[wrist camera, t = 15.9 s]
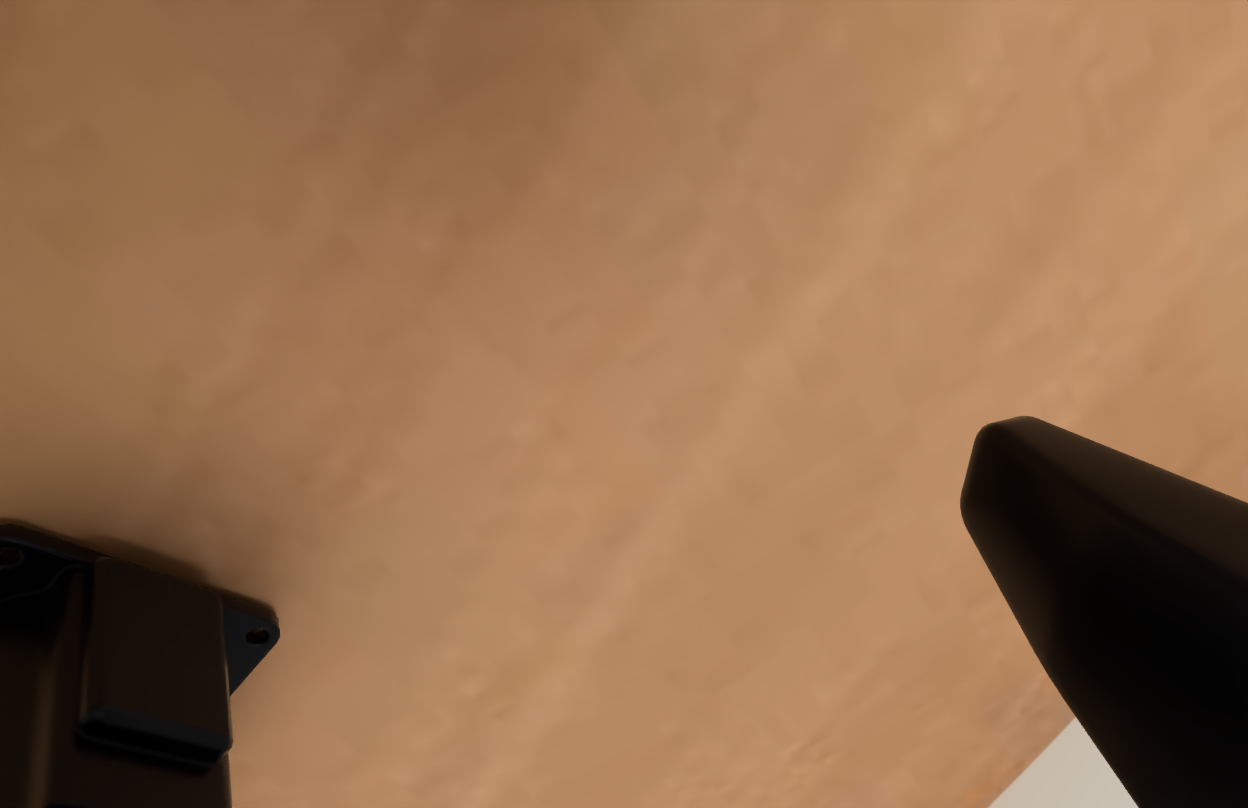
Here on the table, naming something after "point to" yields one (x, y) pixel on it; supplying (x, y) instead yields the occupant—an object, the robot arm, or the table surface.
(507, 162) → the table surface
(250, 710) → the table surface
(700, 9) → the table surface
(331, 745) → the table surface
